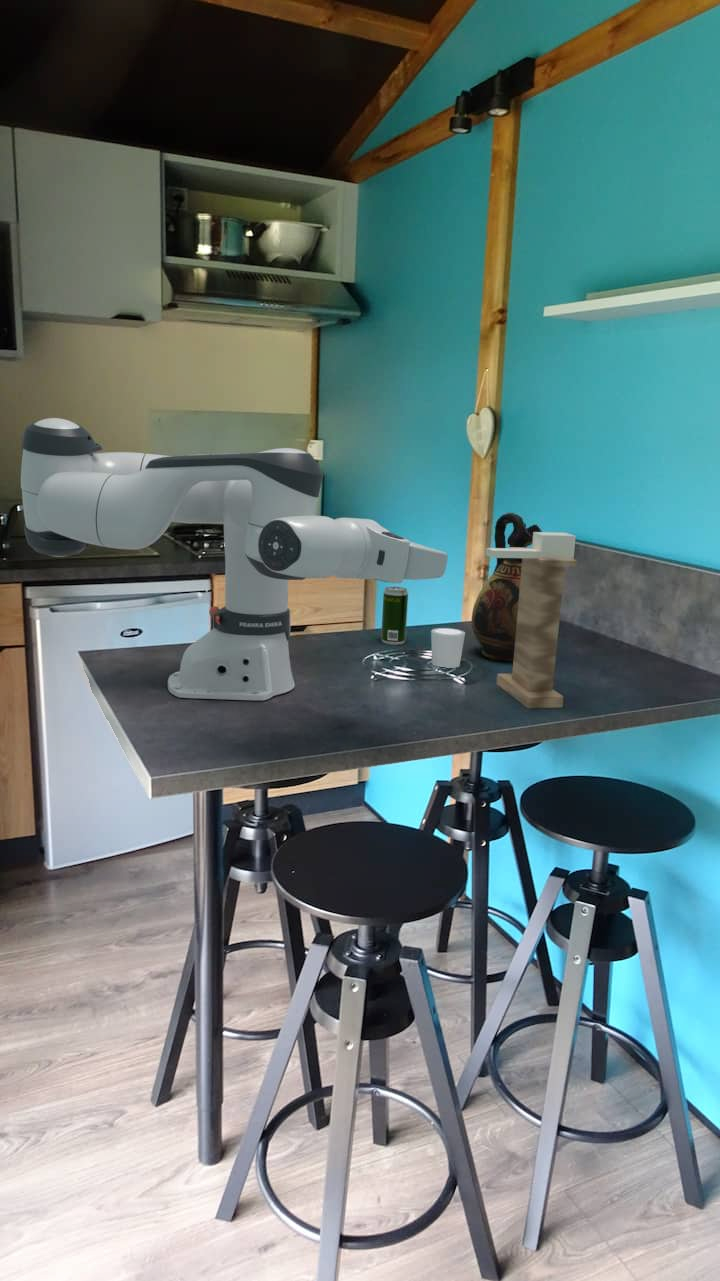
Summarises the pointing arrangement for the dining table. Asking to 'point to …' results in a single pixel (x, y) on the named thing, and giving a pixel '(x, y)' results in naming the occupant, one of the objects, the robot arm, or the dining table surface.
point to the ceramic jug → (502, 594)
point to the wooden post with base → (537, 633)
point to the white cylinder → (447, 647)
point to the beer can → (394, 615)
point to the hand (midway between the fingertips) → (421, 550)
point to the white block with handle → (540, 547)
